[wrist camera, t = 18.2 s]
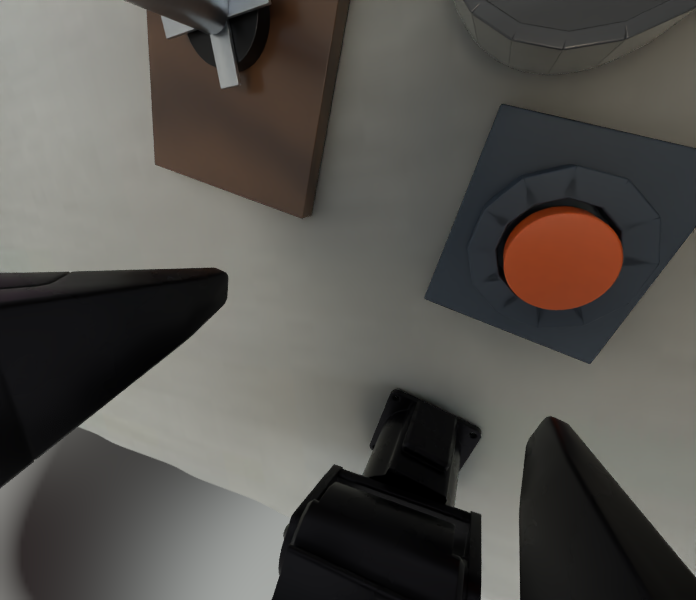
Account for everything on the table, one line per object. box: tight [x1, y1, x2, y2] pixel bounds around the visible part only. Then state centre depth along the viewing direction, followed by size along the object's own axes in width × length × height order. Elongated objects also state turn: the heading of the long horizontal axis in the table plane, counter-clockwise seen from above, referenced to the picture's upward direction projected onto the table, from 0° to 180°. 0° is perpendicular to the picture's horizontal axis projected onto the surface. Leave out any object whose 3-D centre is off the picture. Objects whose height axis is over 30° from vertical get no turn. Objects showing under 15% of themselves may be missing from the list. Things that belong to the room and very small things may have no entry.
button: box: [503, 206, 623, 310], centre depth 14 cm, size 4×4×2 cm
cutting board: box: [147, 0, 350, 219], centre depth 18 cm, size 18×12×1 cm, turn 166°
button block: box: [424, 104, 696, 364], centre depth 15 cm, size 10×9×3 cm
